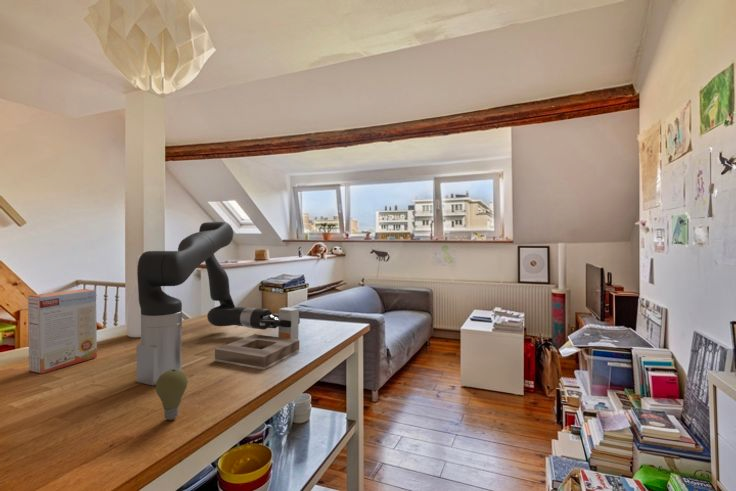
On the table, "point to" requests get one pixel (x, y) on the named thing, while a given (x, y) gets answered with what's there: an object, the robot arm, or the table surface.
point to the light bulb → (171, 391)
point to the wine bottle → (134, 312)
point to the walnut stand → (257, 351)
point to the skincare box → (292, 316)
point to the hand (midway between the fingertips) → (294, 322)
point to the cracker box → (61, 329)
